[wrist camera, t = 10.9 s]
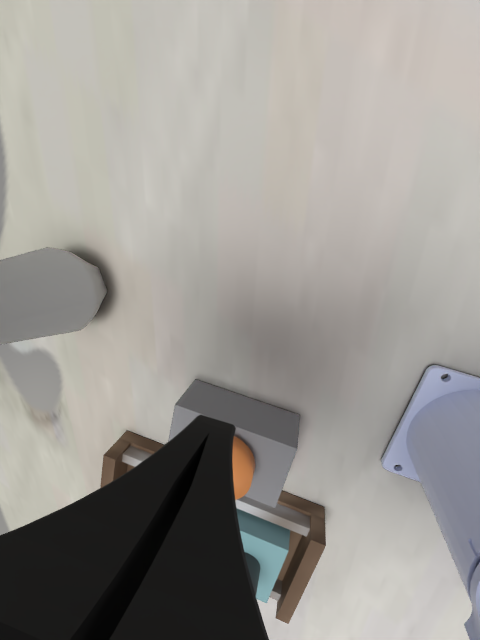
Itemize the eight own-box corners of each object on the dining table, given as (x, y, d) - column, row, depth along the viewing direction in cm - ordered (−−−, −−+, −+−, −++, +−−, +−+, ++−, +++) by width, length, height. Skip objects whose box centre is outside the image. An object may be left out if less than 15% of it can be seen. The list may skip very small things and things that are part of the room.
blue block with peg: (290, 524, 22) (282, 621, 17) (270, 574, 24) (257, 676, 19) (228, 499, 23) (200, 583, 18) (213, 550, 25) (184, 640, 20)
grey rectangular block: (300, 415, 21) (297, 448, 18) (280, 468, 23) (275, 508, 19) (195, 379, 22) (175, 404, 19) (184, 432, 24) (164, 463, 21)
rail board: (324, 507, 23) (325, 545, 20) (291, 581, 26) (288, 623, 23) (126, 430, 25) (103, 455, 23) (117, 505, 28) (95, 535, 26)
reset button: (269, 417, 21) (258, 460, 17) (255, 461, 22) (242, 510, 18) (216, 398, 21) (193, 436, 18) (205, 442, 23) (182, 485, 19)
